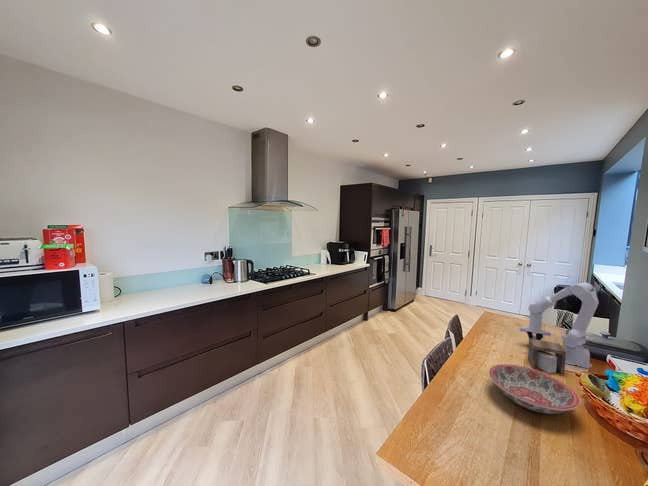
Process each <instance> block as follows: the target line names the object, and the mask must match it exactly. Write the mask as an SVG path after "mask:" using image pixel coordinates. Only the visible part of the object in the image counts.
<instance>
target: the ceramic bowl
mask: <svg viewBox="0 0 648 486" xmlns="http://www.w3.org/2000/svg"><path fill="white" fill-rule="evenodd" d="M488 374H489V377H490V379H491V381H492V382H493V383H494V384H495V385H496V386H497V387H498V388H499V390H500V391H501V393H503V394H504V396H506V397H507V398H508V399H509V400H511V401H512V402H513V403H515V404H517V405H518V406H521V407H522V408H525V409H528V410H530V411H533V412H536V413H541V414H549V415H550V414H551V415H553V414H561V413H564V412H566V411H573V410H575V409H578V407H579V406H580V404H581V400H580V398H579V395H578V394H577V393H576V391H575V390H573V389H572V388H571V387H569V386H568V385H567V384H565V383H564V382H563V381H561V380H559V379H558V378H556V377H553V376H552V375H549V374H548V373H547V374H546V373H544V372H542V371H539V370H538V369H537V370H536V369H534V368H532V367H526V366H522V365H517V364H507V363H506V364H505V363H502V364H496V365H494V366H493V365H492V367H490V369H489V371H488Z"/></svg>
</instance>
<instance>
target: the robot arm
mask: <svg viewBox="0 0 648 486" xmlns="http://www.w3.org/2000/svg"><path fill="white" fill-rule="evenodd" d="M568 296H575V297H576V298H578V299H579V300H580V301H581V302H582V304H581V307H580V310H579V312H578V313H577V316H576V319H575V321H574V323H573V325H572V328H571V329H570V330H569V331H568V333H567V335H565V336H564V337H563V338H562V342H563V344H564V348H563V349H564V350H565V351H566V358H565V364H566V363H567V364H566V365H570V364H571V365H570V366H575V365H577V367H580V366H581V367H582V368H584V369H585V368H586V369H590V358H591V354H590V353H591V352H590V351H589V349H588V348H585V347H584V345H585V344H586V342H587V339H586V336H587V333H586V332H587V330H588V328H589V325H590V323H591V321H592V319H593V316H594V314H595V312H596V310H597V308H598V305H599V303H600V302H599V298H598V296H597V289H596V288H595V287H594V286H593V285H592V284H591V283H590V282H585V281H584V282H579V283H574V284H571V285H570V286H566V287H564V288H562V289H561V290H559V291H557V292H556V293H555V294H552V295H551V296H548V295H546V296H545V295H544V296H542V297H541V299H540V300H535V303H530V305H528V311H529V320H528V321H529V323H528V327H521V326H520V327H519V332H525V333H526V334H527V337H528V339H529V338H531V339H533V335H534V334H535V336H536V340H542V339H544V336H548V337H552V333H551V332H550V331H546V330H543V329H542V325H543V313H545V311H546V310H549V309H550V308H552V307H554V306H555V305H557V304H556V303H557V301H559V300H561V299H563V298H566V297H568ZM581 367H580V368H581Z"/></svg>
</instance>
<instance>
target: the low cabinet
mask: <svg viewBox="0 0 648 486" xmlns="http://www.w3.org/2000/svg"><path fill="white" fill-rule="evenodd" d="M537 349H538V350H543V351H546V352H548V353H553V354H554V355H555V356H557V365H556V371H557V372H558V373H559V374H560V375H561V376H565V368H566V367H565V366H566V363H565V358H566V351H565V350H564V348H563V346H562V345H561V344H560V343H558V342H552V341H546V340H542V339H541V340H536V339H531V338H529V337H528V352H527V360H528V362H529V364H530V366H531V367H530V368H531V369H534V370H536V366H535V365H536V352H537Z"/></svg>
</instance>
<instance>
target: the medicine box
mask: <svg viewBox="0 0 648 486" xmlns="http://www.w3.org/2000/svg"><path fill="white" fill-rule="evenodd" d="M556 365H557V356H555V354H554V353H553V354H552V353H551V352H548V351H543V350H537V352H536V365H535V368H538V369H540V370H541V371H543V372H546V373H547V374H548V375H549V374H550V375H551V374H554V373H557V368H556Z"/></svg>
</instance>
